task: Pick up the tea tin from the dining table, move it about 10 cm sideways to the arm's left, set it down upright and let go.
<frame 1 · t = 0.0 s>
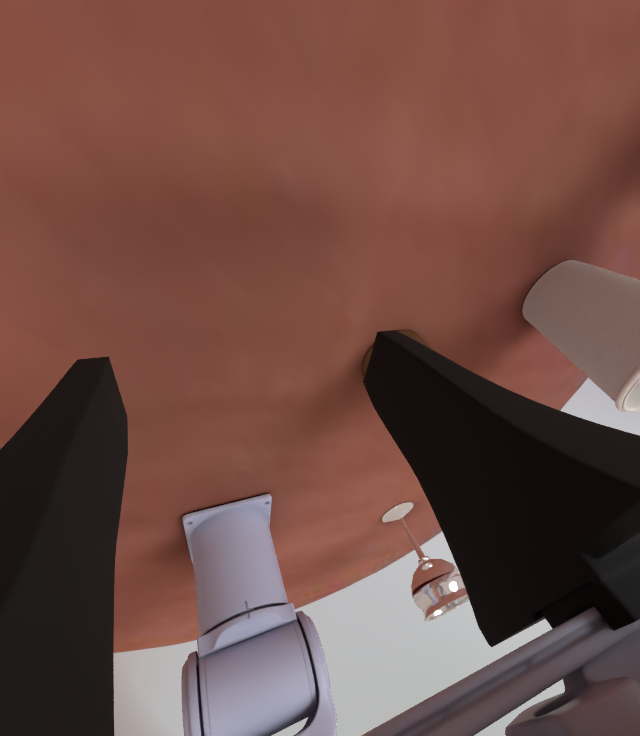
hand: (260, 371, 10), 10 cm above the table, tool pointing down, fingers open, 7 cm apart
dixie cup: (550, 291, 29), on the table
wineglass: (397, 511, 49), on the table
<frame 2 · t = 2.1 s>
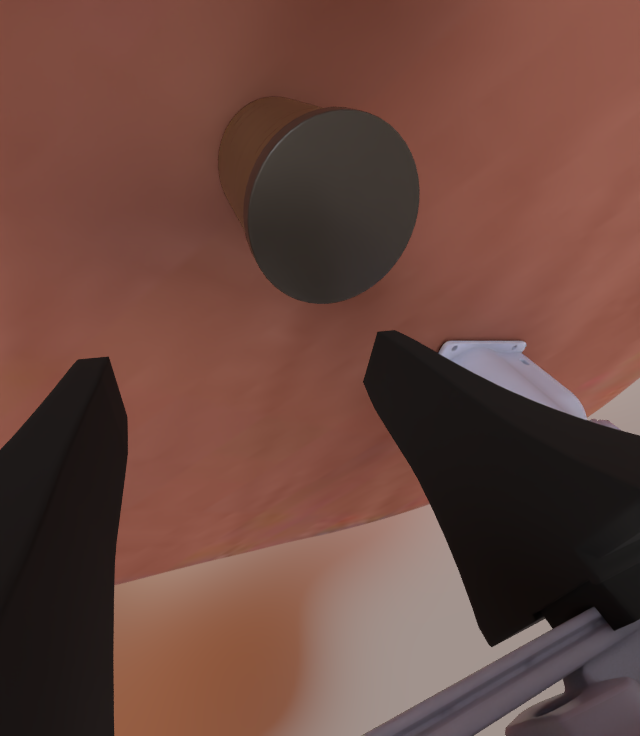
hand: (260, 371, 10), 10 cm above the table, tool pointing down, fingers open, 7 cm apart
tea tin: (278, 170, 15), on the table
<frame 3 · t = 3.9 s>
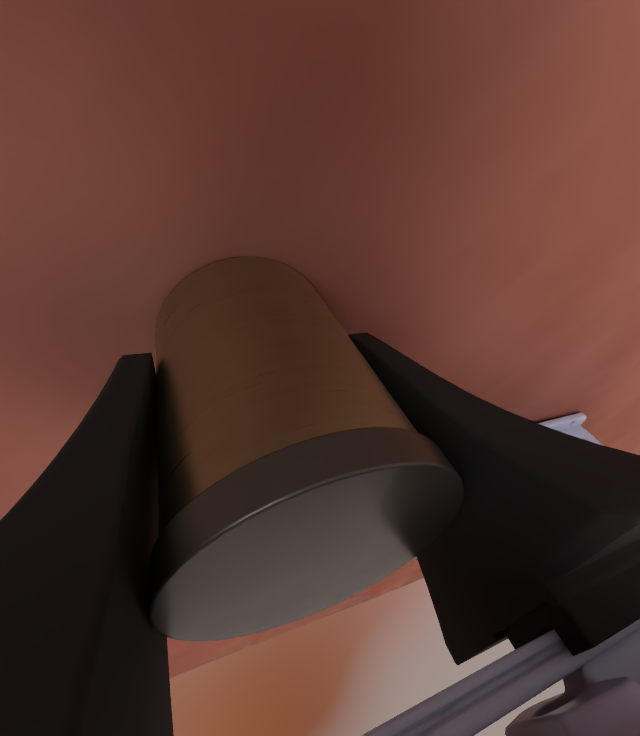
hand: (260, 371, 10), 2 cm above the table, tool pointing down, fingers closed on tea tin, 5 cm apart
tea tin: (246, 335, 11), on the table, touching gripper
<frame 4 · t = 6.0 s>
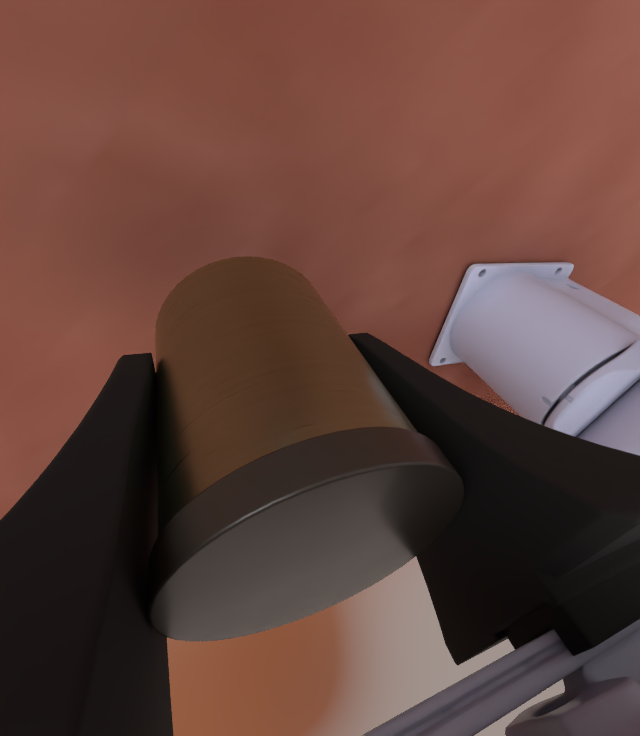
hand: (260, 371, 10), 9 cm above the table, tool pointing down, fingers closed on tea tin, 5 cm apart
tea tin: (246, 335, 11), point 7 cm above the table, touching gripper
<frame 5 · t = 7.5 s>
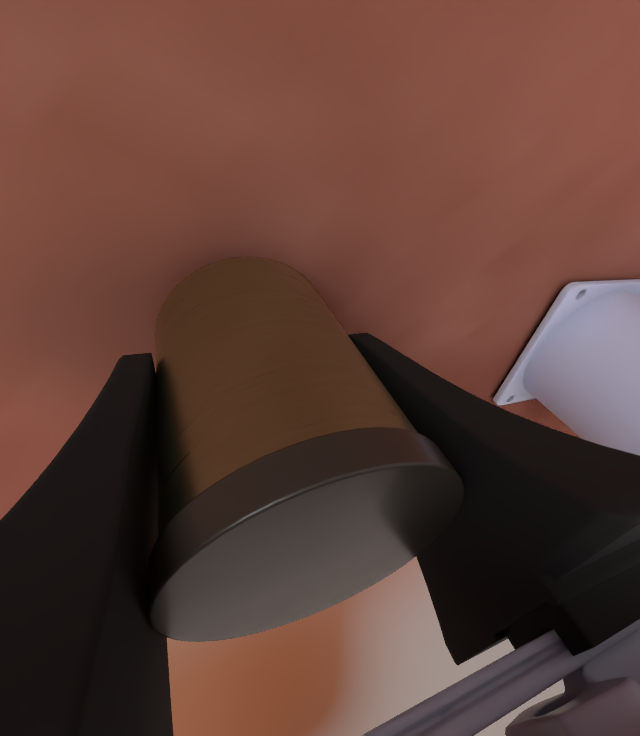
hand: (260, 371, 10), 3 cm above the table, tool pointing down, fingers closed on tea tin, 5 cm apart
tea tin: (246, 335, 11), point 1 cm above the table, touching gripper
when the fingers open (2 cm above the table, at t = 8.3 s): tea tin stays where it is, on the table.
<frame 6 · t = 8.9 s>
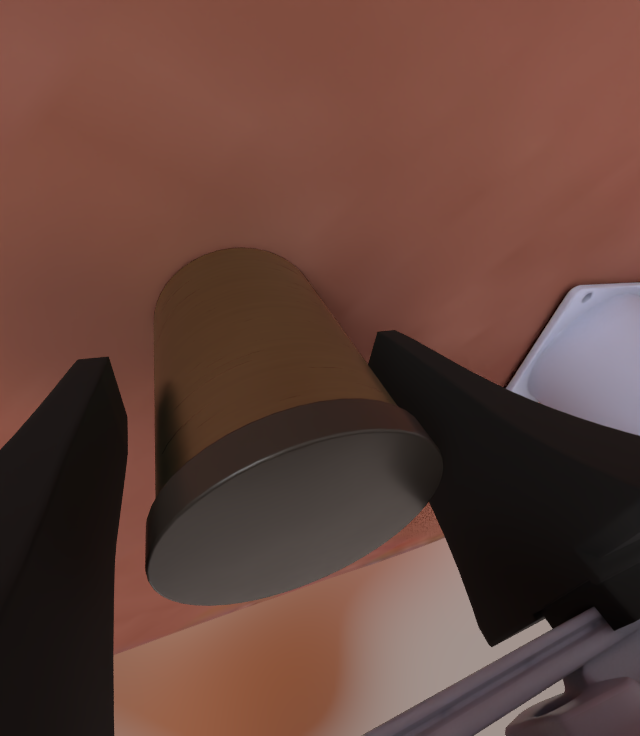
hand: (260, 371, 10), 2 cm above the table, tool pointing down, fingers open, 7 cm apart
tea tin: (241, 324, 11), on the table
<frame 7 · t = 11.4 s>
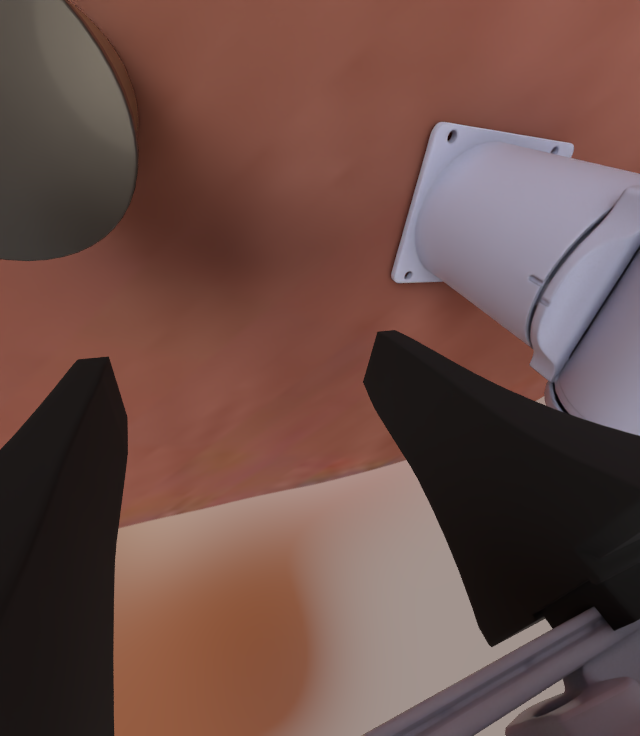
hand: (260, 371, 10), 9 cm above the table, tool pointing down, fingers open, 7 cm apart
tea tin: (49, 93, 11), on the table
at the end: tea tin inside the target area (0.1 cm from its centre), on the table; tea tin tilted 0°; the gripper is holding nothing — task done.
